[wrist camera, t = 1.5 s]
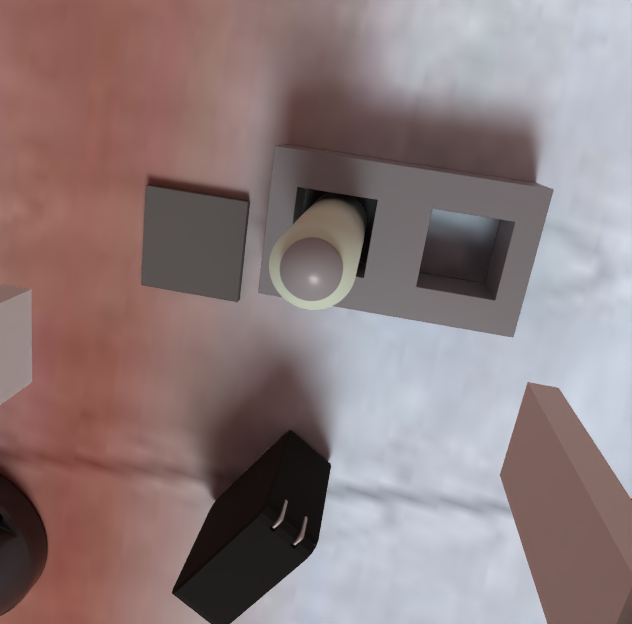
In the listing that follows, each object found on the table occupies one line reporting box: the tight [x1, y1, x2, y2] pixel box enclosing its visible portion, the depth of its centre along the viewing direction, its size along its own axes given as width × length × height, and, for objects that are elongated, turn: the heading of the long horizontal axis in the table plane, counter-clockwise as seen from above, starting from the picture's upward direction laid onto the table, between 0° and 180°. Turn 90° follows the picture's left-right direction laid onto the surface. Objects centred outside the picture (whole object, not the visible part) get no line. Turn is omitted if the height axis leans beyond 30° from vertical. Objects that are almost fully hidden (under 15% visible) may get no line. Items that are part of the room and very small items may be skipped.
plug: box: [269, 193, 367, 310], centre depth 32 cm, size 4×4×14 cm
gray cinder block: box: [258, 144, 553, 337], centre depth 36 cm, size 16×9×4 cm, turn 82°
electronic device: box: [172, 430, 331, 624], centre depth 40 cm, size 4×10×10 cm, turn 138°
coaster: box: [141, 185, 250, 302], centre depth 40 cm, size 7×7×1 cm
